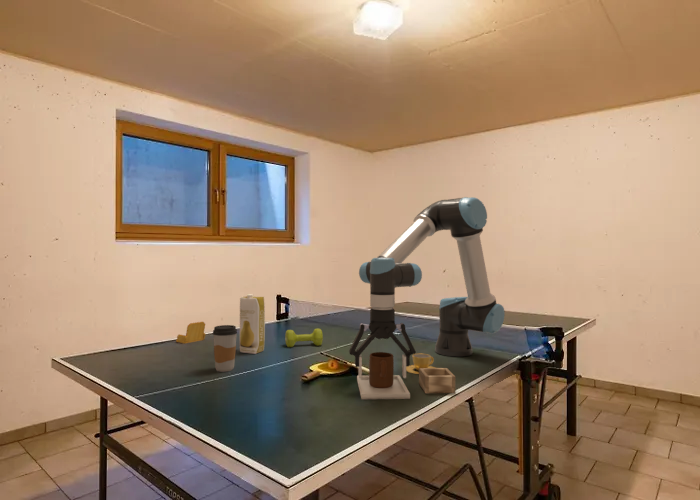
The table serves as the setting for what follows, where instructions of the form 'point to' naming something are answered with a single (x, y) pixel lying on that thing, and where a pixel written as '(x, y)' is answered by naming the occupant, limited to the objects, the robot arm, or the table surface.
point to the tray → (383, 389)
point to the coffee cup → (224, 347)
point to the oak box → (436, 380)
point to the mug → (381, 369)
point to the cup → (420, 362)
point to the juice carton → (252, 324)
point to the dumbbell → (303, 337)
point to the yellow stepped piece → (193, 333)
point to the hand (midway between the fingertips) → (382, 377)
